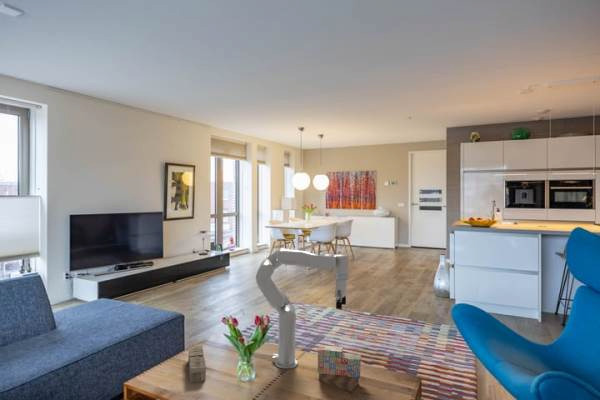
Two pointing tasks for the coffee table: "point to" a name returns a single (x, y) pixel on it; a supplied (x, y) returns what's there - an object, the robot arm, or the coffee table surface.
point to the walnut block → (339, 381)
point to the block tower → (196, 364)
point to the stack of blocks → (338, 362)
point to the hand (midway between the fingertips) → (341, 306)
